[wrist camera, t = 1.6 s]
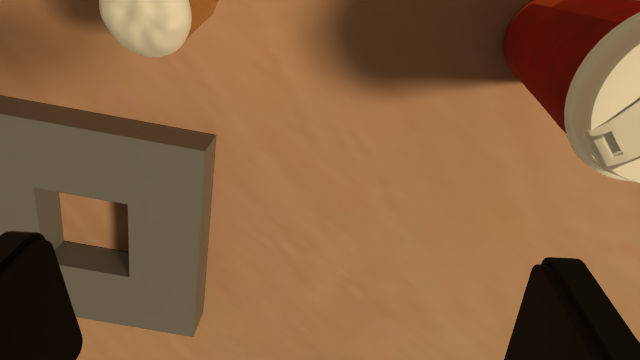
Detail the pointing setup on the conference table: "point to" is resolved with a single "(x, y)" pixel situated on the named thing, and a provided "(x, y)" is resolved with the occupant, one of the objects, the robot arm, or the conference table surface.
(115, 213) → the conference table surface
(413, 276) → the conference table surface
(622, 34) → the paper cup
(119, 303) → the socket plate
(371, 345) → the conference table surface
